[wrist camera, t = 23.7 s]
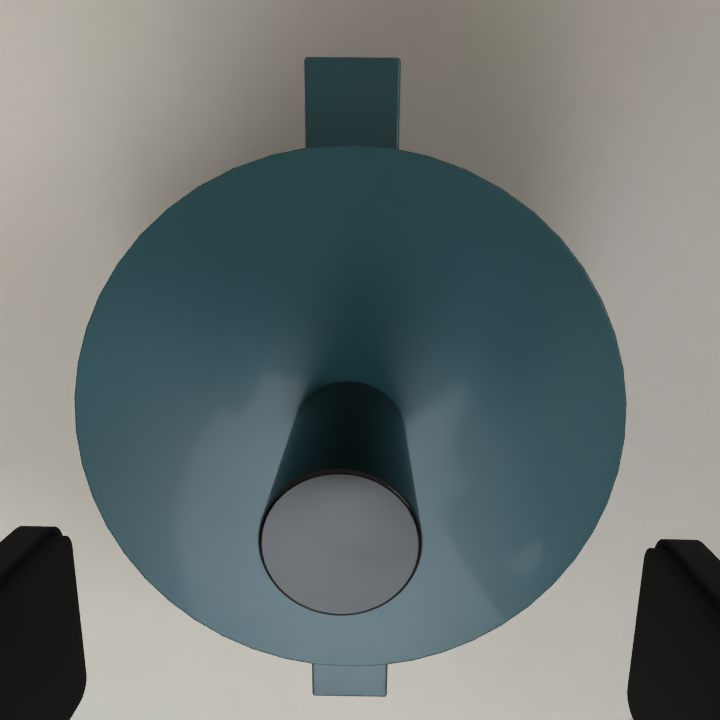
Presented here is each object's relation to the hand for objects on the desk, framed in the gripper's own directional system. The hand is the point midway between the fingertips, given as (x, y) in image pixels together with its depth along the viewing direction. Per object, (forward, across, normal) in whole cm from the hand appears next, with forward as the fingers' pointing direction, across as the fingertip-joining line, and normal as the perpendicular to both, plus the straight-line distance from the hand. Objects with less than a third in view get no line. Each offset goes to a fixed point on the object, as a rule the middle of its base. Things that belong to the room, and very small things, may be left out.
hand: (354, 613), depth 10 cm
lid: (+7, 0, 0) cm, 7 cm away
